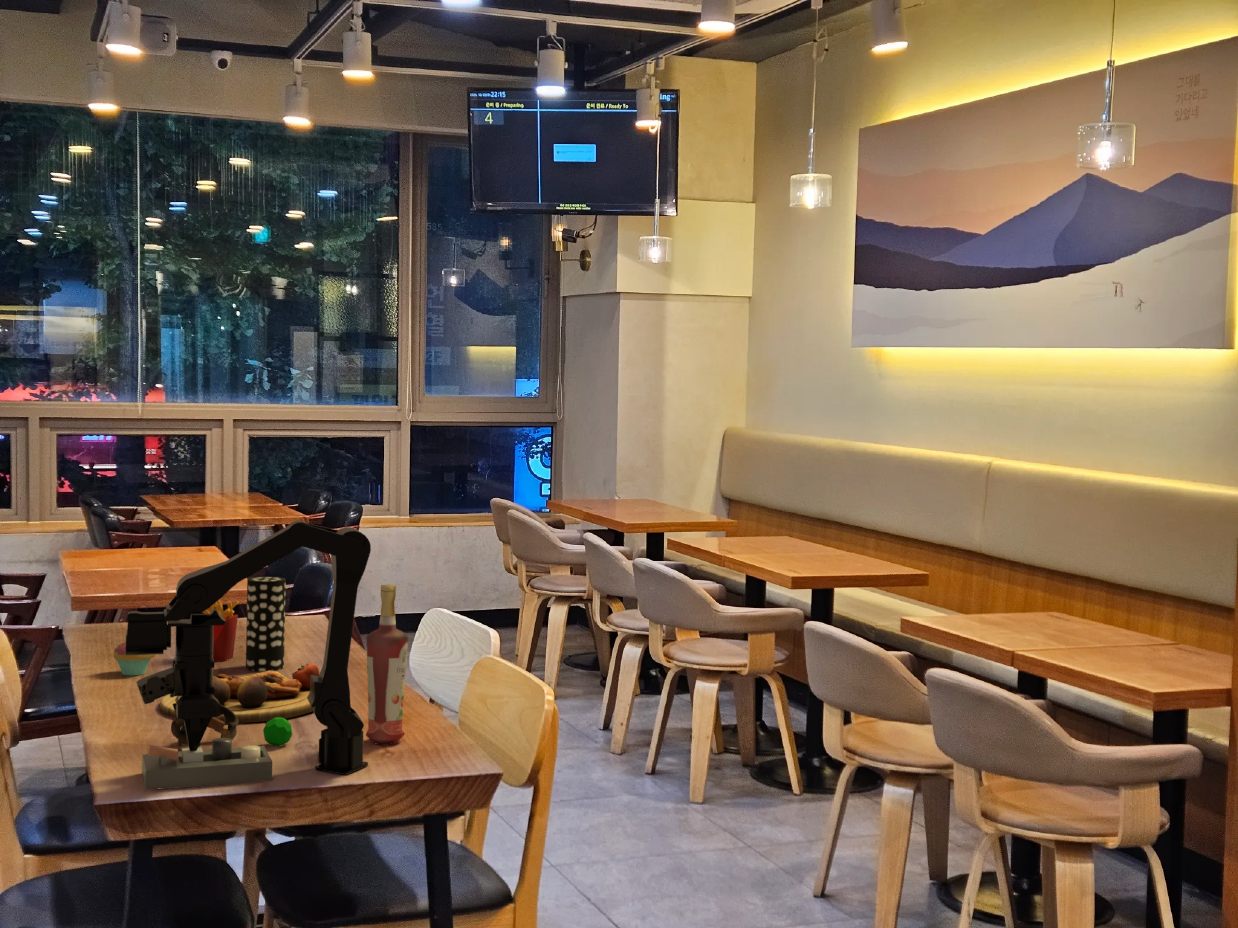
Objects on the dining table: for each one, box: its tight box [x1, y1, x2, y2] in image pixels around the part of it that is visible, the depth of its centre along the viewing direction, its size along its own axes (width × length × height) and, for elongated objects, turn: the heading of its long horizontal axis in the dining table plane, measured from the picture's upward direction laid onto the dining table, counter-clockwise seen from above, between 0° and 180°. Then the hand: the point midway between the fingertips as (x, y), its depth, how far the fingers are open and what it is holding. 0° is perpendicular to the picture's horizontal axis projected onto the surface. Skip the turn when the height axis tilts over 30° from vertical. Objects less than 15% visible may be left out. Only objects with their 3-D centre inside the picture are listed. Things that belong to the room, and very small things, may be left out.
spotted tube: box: [245, 576, 287, 672], centre depth 296 cm, size 8×8×20 cm
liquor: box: [365, 584, 409, 746], centre depth 235 cm, size 7×7×28 cm
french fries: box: [202, 598, 240, 662], centre depth 304 cm, size 9×8×15 cm
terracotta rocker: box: [147, 744, 179, 760], centre depth 209 cm, size 4×3×1 cm, turn 112°
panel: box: [141, 745, 273, 791], centre depth 211 cm, size 19×10×4 cm, turn 113°
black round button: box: [211, 737, 233, 761], centre depth 212 cm, size 3×3×3 cm
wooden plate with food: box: [159, 663, 320, 724], centre depth 261 cm, size 32×32×8 cm
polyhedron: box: [262, 717, 293, 747], centre depth 231 cm, size 5×5×5 cm
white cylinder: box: [241, 745, 260, 759], centre depth 214 cm, size 3×3×3 cm
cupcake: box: [113, 641, 156, 676], centre depth 287 cm, size 9×8×12 cm
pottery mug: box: [170, 705, 240, 747], centre depth 230 cm, size 12×10×8 cm
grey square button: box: [181, 746, 204, 763], centre depth 210 cm, size 3×3×3 cm
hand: (193, 750), depth 210 cm, fingers closed, pressing on grey square button
